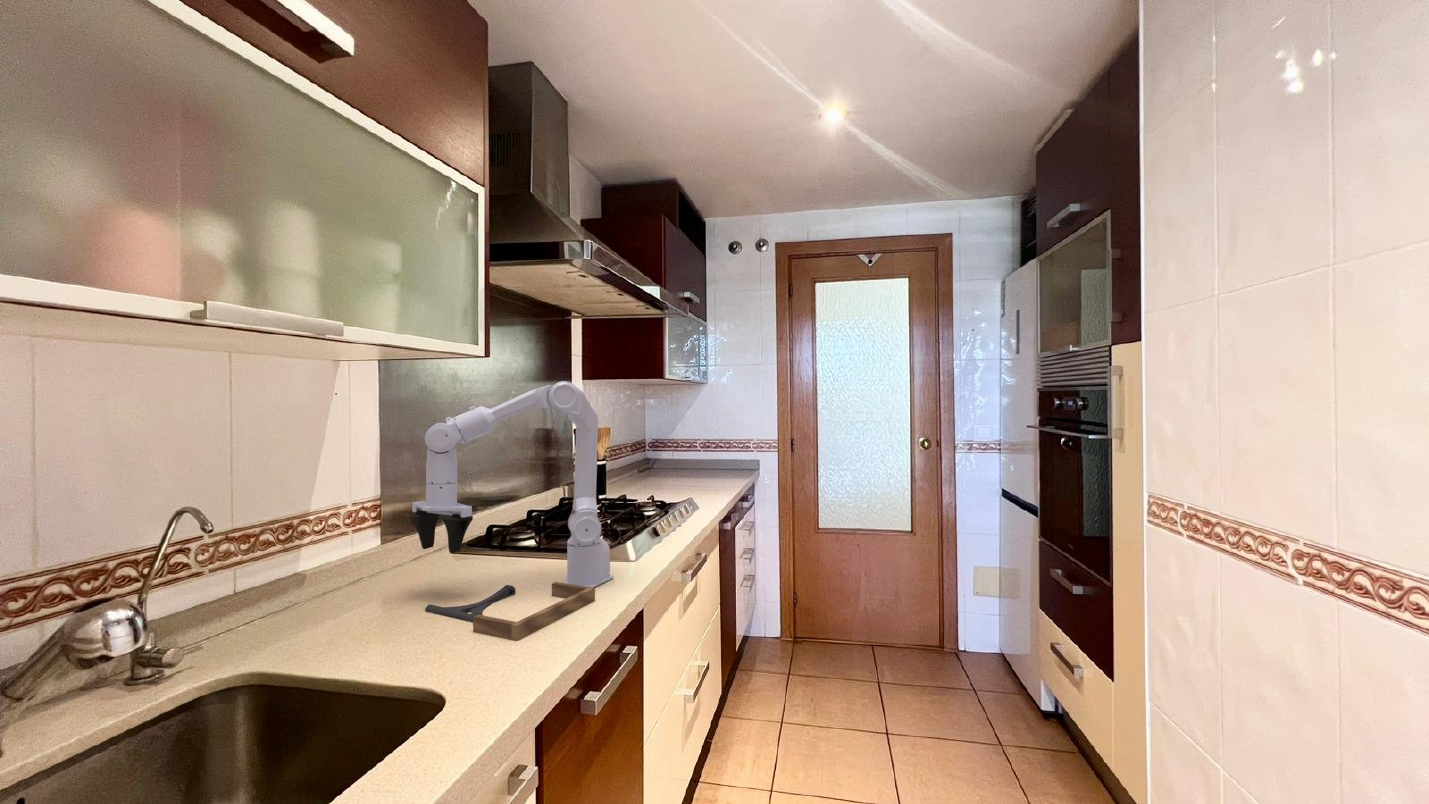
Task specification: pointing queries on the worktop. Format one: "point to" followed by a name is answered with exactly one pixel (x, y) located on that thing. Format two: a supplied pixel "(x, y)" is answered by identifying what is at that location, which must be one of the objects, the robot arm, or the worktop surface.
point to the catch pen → (534, 622)
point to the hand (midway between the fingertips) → (441, 549)
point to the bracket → (471, 606)
